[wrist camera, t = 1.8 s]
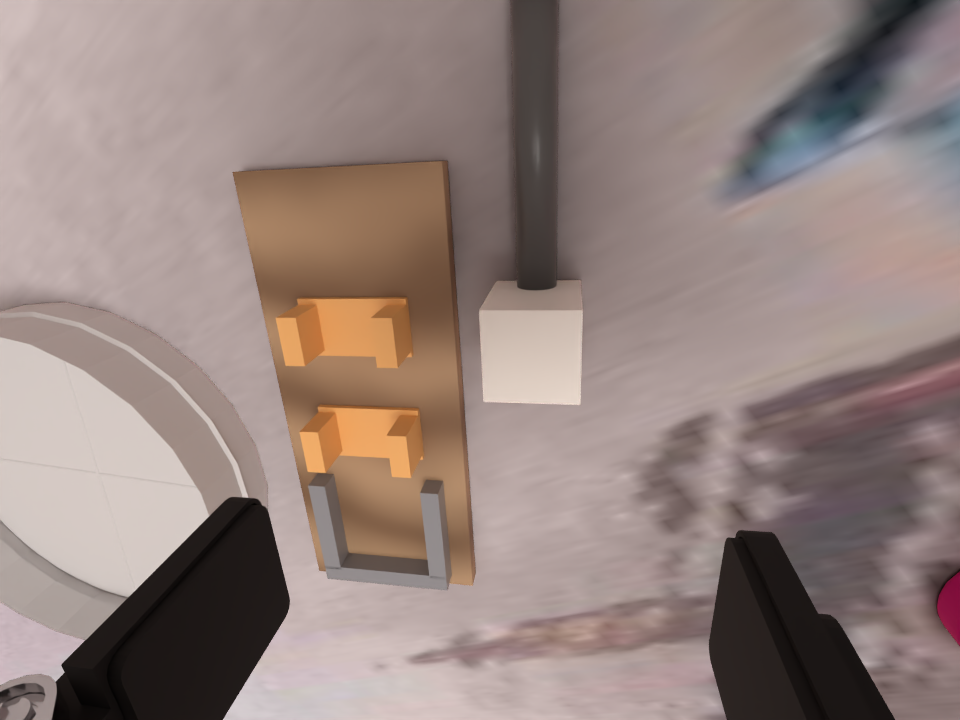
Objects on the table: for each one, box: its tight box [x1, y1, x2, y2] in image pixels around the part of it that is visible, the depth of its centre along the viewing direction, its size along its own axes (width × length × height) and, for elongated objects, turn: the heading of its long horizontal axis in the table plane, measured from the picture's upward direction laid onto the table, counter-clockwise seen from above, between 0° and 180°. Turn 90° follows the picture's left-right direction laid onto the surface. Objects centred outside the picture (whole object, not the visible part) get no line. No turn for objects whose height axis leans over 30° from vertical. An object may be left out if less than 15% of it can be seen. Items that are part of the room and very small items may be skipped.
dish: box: [0, 302, 268, 640], centre depth 31 cm, size 22×22×5 cm
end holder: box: [308, 473, 452, 590], centre depth 30 cm, size 7×8×1 cm
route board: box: [233, 161, 476, 586], centre depth 28 cm, size 24×10×1 cm, turn 3°
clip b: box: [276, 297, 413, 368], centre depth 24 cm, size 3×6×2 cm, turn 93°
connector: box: [479, 0, 583, 405], centre depth 20 cm, size 17×4×5 cm, turn 3°
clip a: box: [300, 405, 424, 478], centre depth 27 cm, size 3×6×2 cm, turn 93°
